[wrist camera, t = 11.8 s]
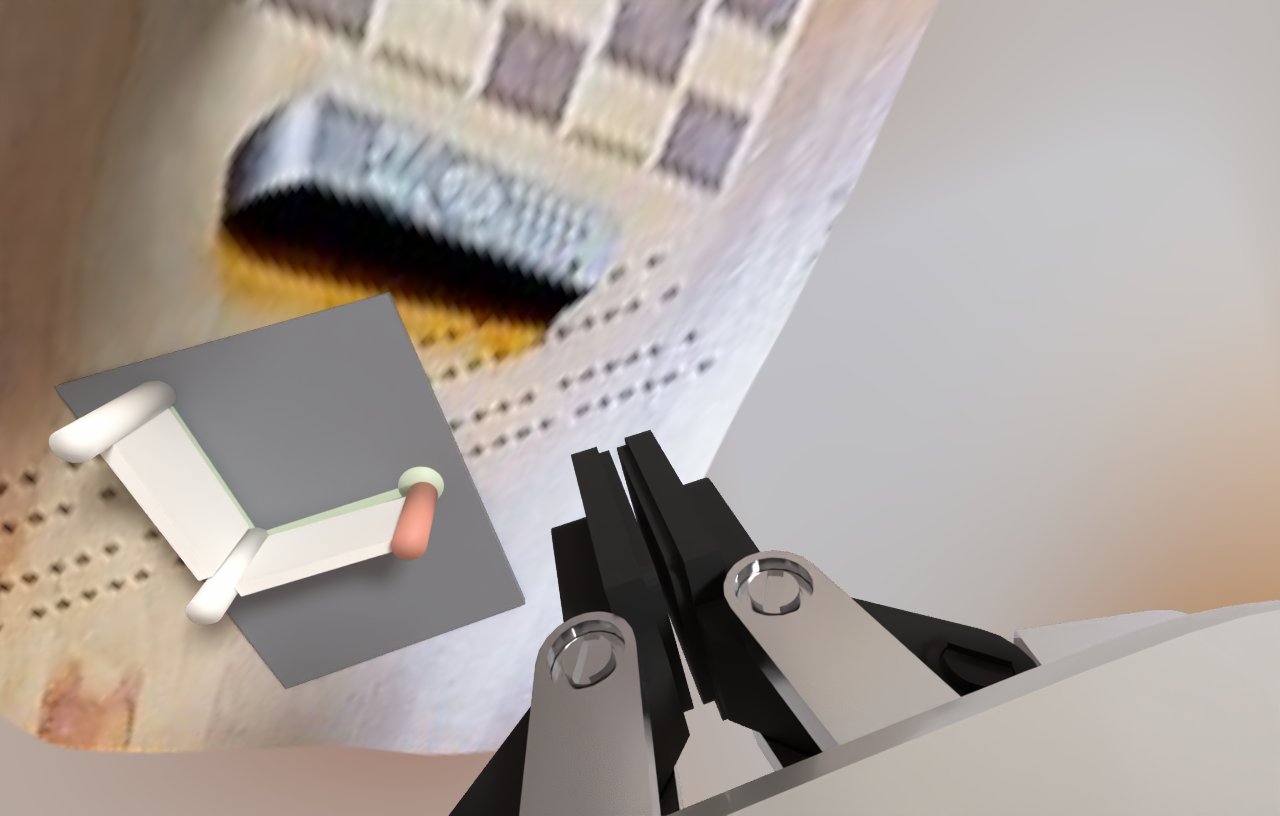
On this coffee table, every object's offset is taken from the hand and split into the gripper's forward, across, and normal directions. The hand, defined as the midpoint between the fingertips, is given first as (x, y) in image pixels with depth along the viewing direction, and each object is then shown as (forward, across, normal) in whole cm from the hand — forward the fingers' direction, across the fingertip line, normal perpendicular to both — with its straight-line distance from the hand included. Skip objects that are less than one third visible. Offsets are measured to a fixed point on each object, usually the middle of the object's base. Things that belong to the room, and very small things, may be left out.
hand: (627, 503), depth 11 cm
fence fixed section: (+26, +24, +6) cm, 36 cm away
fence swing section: (+26, +17, +12) cm, 33 cm away
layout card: (+27, +18, +11) cm, 34 cm away
